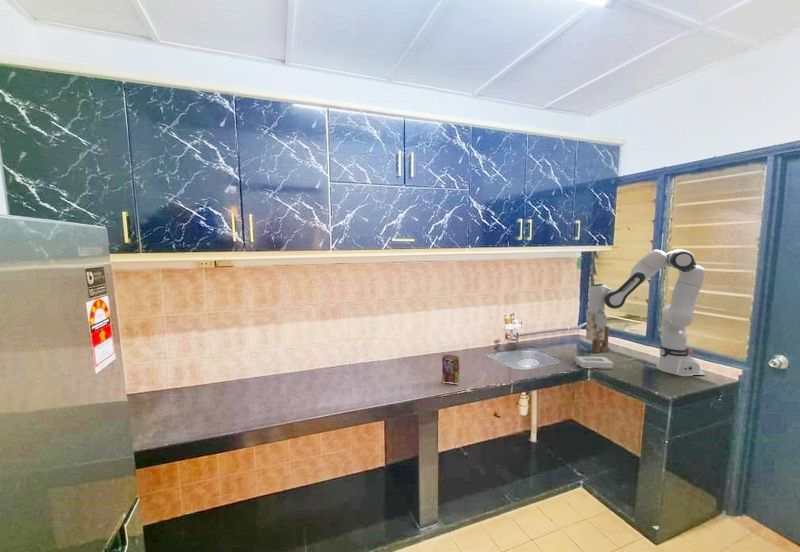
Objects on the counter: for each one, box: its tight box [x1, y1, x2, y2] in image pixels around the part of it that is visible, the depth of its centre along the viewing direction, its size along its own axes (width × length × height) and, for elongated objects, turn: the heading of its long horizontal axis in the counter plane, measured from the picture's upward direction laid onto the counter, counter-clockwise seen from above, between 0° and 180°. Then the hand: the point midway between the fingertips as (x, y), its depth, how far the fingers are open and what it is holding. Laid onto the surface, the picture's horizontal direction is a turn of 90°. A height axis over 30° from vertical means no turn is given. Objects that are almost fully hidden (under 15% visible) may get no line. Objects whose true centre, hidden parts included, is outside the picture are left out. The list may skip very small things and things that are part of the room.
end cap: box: [574, 355, 614, 370], centre depth 205 cm, size 18×10×4 cm, turn 84°
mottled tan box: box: [585, 315, 605, 341], centre depth 215 cm, size 10×3×16 cm, turn 85°
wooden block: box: [591, 325, 610, 354], centre depth 230 cm, size 4×11×18 cm, turn 104°
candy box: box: [441, 354, 461, 383], centre depth 181 cm, size 9×4×15 cm, turn 72°
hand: (595, 329), depth 216 cm, fingers closed on mottled tan box, 3 cm apart
